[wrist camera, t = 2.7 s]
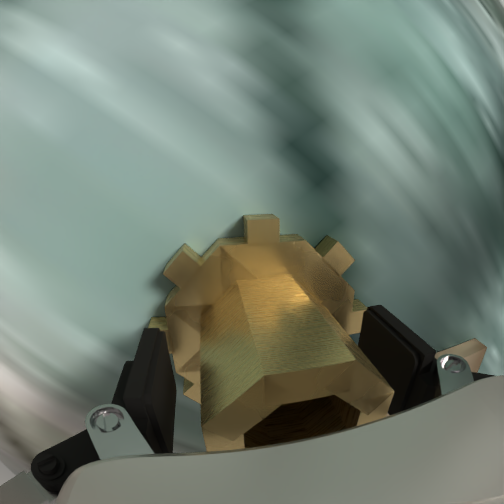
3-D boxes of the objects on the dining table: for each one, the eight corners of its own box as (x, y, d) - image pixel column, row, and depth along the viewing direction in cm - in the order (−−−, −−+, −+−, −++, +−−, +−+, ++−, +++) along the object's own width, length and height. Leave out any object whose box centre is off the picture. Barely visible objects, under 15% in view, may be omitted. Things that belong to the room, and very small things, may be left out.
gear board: (474, 338, 17) (536, 385, 10) (391, 497, 24) (413, 536, 17) (288, 389, 15) (331, 497, 8) (274, 531, 22) (287, 579, 15)
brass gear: (364, 211, 13) (481, 253, 6) (344, 383, 15) (399, 472, 9) (138, 221, 12) (63, 285, 5) (171, 404, 14) (164, 515, 7)
